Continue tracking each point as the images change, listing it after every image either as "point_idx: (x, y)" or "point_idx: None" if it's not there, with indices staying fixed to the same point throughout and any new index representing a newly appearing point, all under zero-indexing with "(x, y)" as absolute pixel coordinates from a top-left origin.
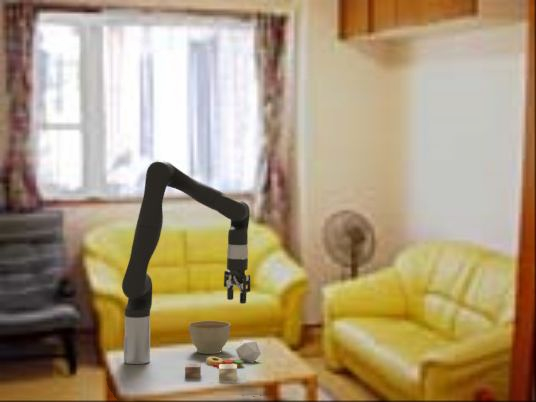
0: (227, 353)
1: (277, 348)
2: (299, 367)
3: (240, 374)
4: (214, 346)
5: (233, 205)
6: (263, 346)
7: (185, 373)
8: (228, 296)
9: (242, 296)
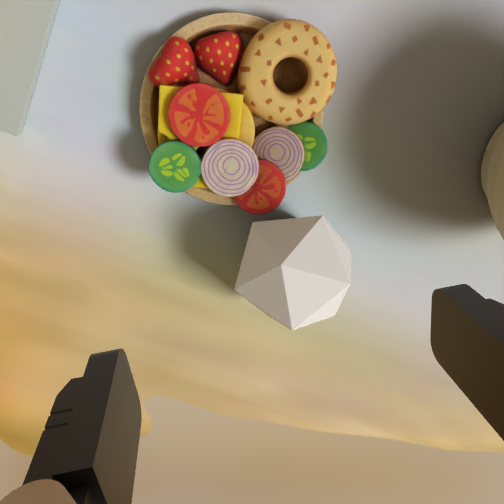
0: (461, 223)
1: (420, 420)
2: None
3: (1, 101)
4: (490, 163)
5: None
6: None
7: None
8: (461, 310)
9: (50, 447)
